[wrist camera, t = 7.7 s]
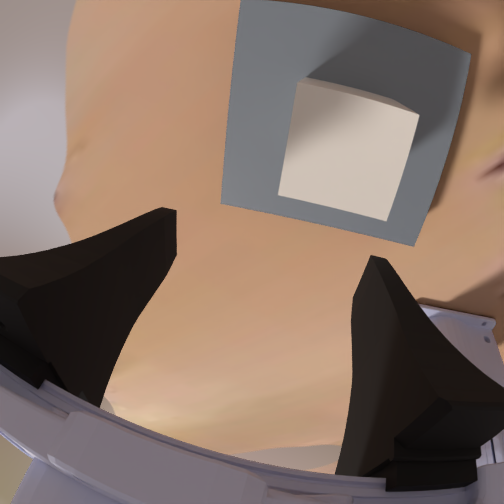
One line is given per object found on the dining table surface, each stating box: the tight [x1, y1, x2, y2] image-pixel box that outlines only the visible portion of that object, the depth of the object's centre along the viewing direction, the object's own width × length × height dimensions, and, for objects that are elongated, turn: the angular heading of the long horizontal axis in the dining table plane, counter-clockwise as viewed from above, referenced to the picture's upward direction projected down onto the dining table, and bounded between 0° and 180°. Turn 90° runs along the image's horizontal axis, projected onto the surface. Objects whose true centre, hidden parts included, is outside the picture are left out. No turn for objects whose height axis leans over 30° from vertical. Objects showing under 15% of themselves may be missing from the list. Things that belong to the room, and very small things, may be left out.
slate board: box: [221, 0, 471, 247], centre depth 16 cm, size 12×12×2 cm
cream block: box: [278, 77, 419, 221], centre depth 13 cm, size 4×4×5 cm
